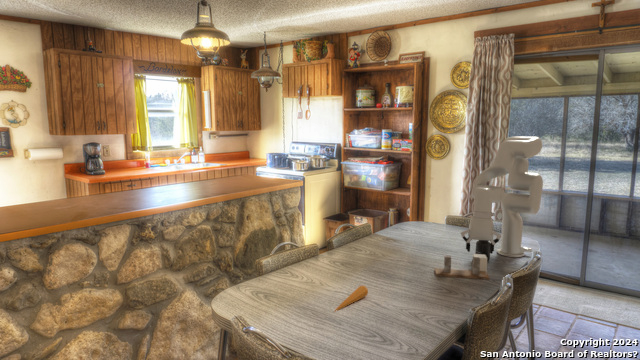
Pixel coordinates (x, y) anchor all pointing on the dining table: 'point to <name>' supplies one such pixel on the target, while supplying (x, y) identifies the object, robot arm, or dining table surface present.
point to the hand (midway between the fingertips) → (479, 251)
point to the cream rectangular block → (482, 261)
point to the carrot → (354, 296)
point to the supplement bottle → (483, 248)
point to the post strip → (462, 273)
